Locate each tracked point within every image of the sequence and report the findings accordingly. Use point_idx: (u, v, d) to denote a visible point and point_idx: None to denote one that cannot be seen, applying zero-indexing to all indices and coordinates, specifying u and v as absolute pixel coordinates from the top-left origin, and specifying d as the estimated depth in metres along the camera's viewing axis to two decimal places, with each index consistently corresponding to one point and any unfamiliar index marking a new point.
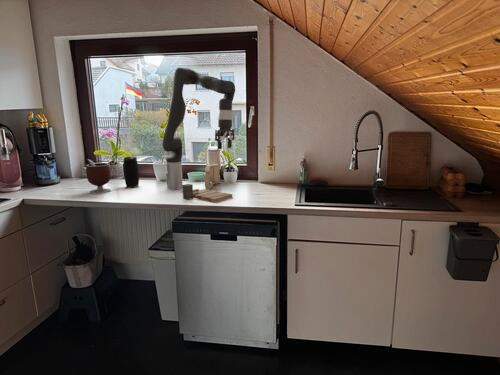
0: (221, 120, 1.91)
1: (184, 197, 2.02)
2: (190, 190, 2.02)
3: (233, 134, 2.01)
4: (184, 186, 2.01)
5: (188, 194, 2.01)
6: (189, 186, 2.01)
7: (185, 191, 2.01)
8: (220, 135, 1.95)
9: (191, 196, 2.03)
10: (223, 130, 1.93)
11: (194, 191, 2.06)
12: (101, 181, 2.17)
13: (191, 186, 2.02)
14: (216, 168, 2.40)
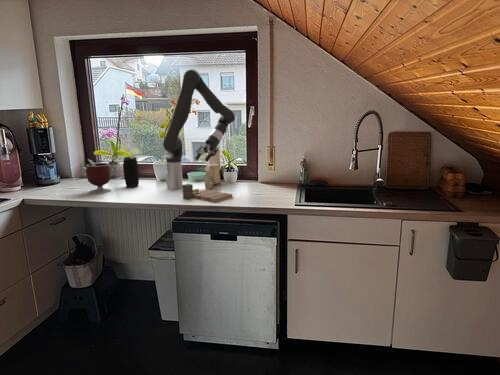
0: (218, 140, 2.11)
1: (184, 197, 2.02)
2: (190, 190, 2.02)
3: None
4: (184, 186, 2.01)
5: (188, 194, 2.01)
6: (189, 186, 2.01)
7: (185, 191, 2.01)
8: None
9: (191, 196, 2.03)
10: None
11: (194, 191, 2.06)
12: (101, 181, 2.17)
13: (191, 186, 2.02)
14: (216, 168, 2.40)
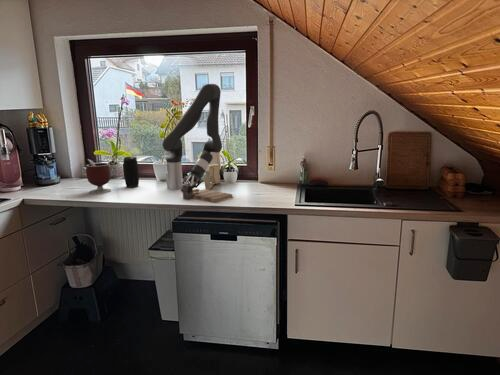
0: (204, 170, 2.05)
1: (184, 197, 2.02)
2: None
3: None
4: (184, 186, 2.01)
5: (188, 194, 2.01)
6: (189, 186, 2.01)
7: (185, 191, 2.01)
8: None
9: (191, 196, 2.03)
10: None
11: (194, 191, 2.06)
12: (101, 181, 2.17)
13: None
14: (216, 168, 2.40)
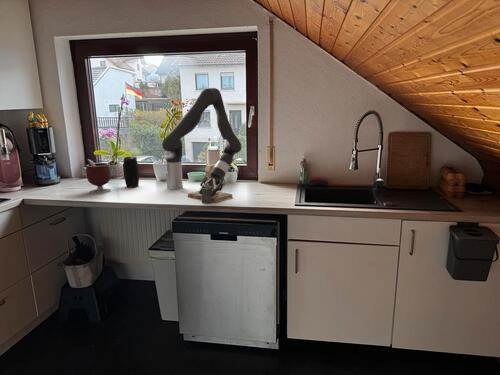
0: (224, 173, 1.96)
1: (203, 201, 1.93)
2: None
3: None
4: (203, 190, 1.91)
5: (208, 198, 1.91)
6: (209, 190, 1.91)
7: (204, 195, 1.91)
8: None
9: (211, 200, 1.93)
10: None
11: None
12: (101, 181, 2.17)
13: (211, 190, 1.92)
14: None
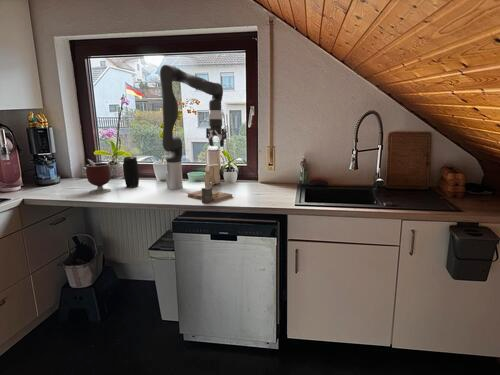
0: (220, 119, 2.07)
1: (203, 201, 1.93)
2: (210, 194, 1.92)
3: (210, 132, 2.15)
4: (203, 190, 1.91)
5: (208, 198, 1.91)
6: (209, 190, 1.91)
7: (204, 195, 1.91)
8: None
9: (211, 200, 1.93)
10: None
11: (213, 195, 1.96)
12: (101, 181, 2.17)
13: (211, 190, 1.92)
14: (216, 168, 2.40)
